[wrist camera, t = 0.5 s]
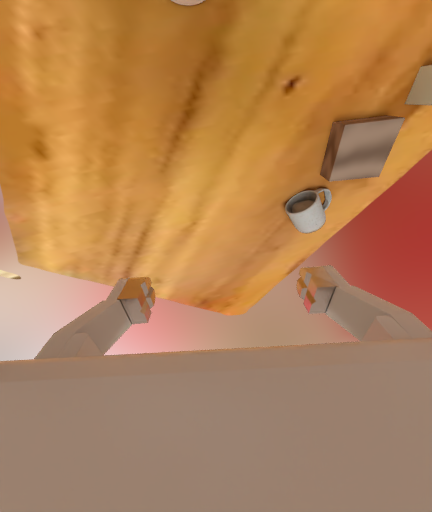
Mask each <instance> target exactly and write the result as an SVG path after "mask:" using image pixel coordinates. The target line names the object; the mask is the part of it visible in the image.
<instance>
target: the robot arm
mask: <svg viewBox="0 0 432 512" xmlns="http://www.w3.org/2000/svg"><path fill="white" fill-rule="evenodd" d="M171 1H173V2H175V3H178V4H181V5H195V4H199V3H201V2H203V1H205V0H171ZM299 274H300V276H301V277H300V278H299V279H298V280H297V291H298V294H299V296H300V297H301V298H302V299H304V306H305V307H306V309H307V311H308V313H309V314H310V313H326V314H327V315H328V316H329V317H330V318H332V319H333V320H334V321H336V322H337V323H338V324H339V325H341V326H342V327H343V328H344V329H346V330H347V331H348V332H350V333H351V334H352V335H353V336H355V337H356V338H357V339H358V340H360V341H361V342H343V343H325V344H307V345H289V346H271V347H255V348H254V347H253V348H234V349H215V350H197V351H180V352H161V353H143V354H124V355H105V356H104V354H105V353H106V352H107V351H108V349H110V347H111V346H112V345H113V344H114V343H115V342H116V341H117V340H118V339H119V338H120V337H121V336H122V335H123V334H124V333H125V332H126V331H127V330H128V329H129V328H130V326H131V325H132V324H140V323H148V321H149V318H150V315H151V310H150V309H151V308H152V307H153V306H154V303H155V291H154V289H153V288H152V287H151V283H152V282H151V280H150V278H149V277H140V278H121V279H119V280H118V282H117V283H116V285H115V287H114V288H113V290H112V291H111V293H110V295H109V296H108V298H107V299H106V301H102V302H100V303H99V304H97V305H96V306H94V307H93V308H91V309H90V310H88V311H87V312H85V313H84V314H82V315H81V316H79V317H78V318H77V319H75V320H73V321H72V322H70V323H69V324H67V325H66V326H64V327H63V328H61V329H60V330H59V331H57V332H55V333H54V334H53V335H52V337H51V338H50V339H49V341H48V342H47V343H46V344H45V346H44V347H43V348H42V350H41V351H40V352H39V353H38V355H37V356H36V357H35V358H34V359H32V360H14V361H0V512H432V331H431V330H430V329H429V328H427V327H426V326H425V325H424V324H423V323H422V322H421V321H420V320H419V319H417V318H416V317H415V316H414V315H413V314H412V313H410V312H408V311H406V310H404V309H402V308H399V307H397V306H395V305H393V304H391V303H389V302H387V301H384V300H383V299H381V298H378V297H376V296H374V295H372V294H370V293H368V292H366V291H364V290H362V289H359V288H357V287H355V286H350V285H349V284H348V283H347V281H346V280H345V279H344V278H343V277H342V276H341V275H340V274H339V273H338V272H337V270H336V269H334V267H333V266H331V265H329V266H320V267H305V268H301V269H300V272H299Z"/></svg>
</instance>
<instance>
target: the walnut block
mask: <svg viewBox="0 0 432 512" xmlns="http://www.w3.org/2000/svg"><path fill="white" fill-rule="evenodd" d="M404 119H405V118H403V117H395V116H379V117H371V118H362V119H354V120H346V121H338V122H333V124H332V128H331V132H330V137H329V141H328V145H327V149H326V153H325V157H324V161H323V165H322V169H321V173H320V175H322V176H323V177H324V178H325V179H327V180H328V181H339V180H350V179H360V178H370V177H379V175H380V173H381V171H382V169H383V166H384V164H385V162H386V160H387V157H388V155H389V153H390V151H391V148H392V146H393V144H394V142H395V139H396V137H397V135H398V133H399V130H400V128H401V126H402V124H403V121H404Z"/></svg>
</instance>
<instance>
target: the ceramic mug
mask: <svg viewBox="0 0 432 512" xmlns="http://www.w3.org/2000/svg"><path fill="white" fill-rule="evenodd" d="M322 191H324V193H325V199H326V200H325V202H324V204H323V206H322V204H321V201H320V198H319V195H318V193H320V192H322ZM330 202H331V192H330V190H328V189H325V188H319V189H317V190H315V191H313V190H308V191H303V192H301V193H298V194H296V195H295V196H293V197H292V198H291V199H290V200H289V201H288V202H287V204H286V206H285V211H286V213H287V214H288V216H289V218H290V219H291V221H292V222H293V224H294V226H295V227H296V229H297V230H298V231H300V232H302V233H312V232H315V231H317V230H319V229H320V228H321V227H322V226H323V225H324V223H325V220H326V217H325V212H324V211H325V210H326V209H327V208H328V206H329V205H330Z"/></svg>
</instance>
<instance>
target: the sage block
mask: <svg viewBox="0 0 432 512" xmlns="http://www.w3.org/2000/svg"><path fill="white" fill-rule="evenodd" d="M405 104H415V105H432V65H428V66H421V67H420V70H419V72H418V74H417V77H416V79H415V81H414V84H413V86H412V88H411V91H410V93H409V95H408V98H407V100H406V102H405Z"/></svg>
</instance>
